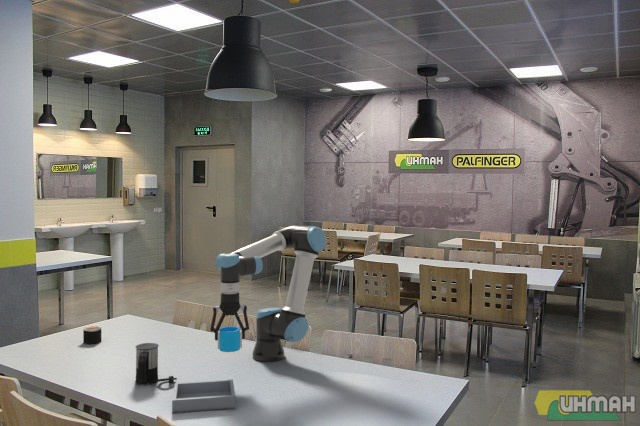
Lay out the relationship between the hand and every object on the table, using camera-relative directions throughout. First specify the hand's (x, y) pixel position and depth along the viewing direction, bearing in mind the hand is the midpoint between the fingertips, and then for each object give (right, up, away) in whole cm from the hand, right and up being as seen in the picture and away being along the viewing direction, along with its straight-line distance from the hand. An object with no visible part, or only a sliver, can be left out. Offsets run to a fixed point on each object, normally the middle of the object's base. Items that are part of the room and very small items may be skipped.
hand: (229, 347), depth 212 cm
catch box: (-6, -16, -18) cm, 25 cm away
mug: (+1, 0, 0) cm, 1 cm away
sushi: (-80, -12, +54) cm, 97 cm away
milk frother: (-31, -15, +1) cm, 34 cm away
